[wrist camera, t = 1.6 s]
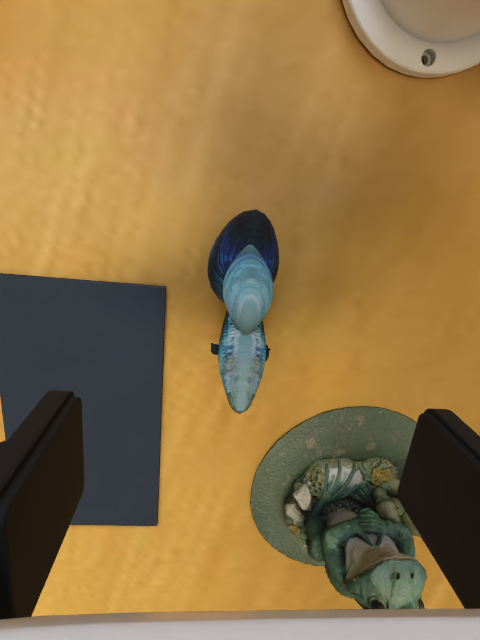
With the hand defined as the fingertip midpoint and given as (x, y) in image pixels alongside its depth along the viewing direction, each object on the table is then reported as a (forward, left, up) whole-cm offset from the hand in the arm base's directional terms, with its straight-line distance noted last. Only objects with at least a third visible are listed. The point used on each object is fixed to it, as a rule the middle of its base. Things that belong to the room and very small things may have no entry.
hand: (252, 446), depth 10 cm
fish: (-1, +1, -18) cm, 18 cm away
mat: (+11, -10, -18) cm, 24 cm away
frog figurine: (+18, +13, -18) cm, 29 cm away
